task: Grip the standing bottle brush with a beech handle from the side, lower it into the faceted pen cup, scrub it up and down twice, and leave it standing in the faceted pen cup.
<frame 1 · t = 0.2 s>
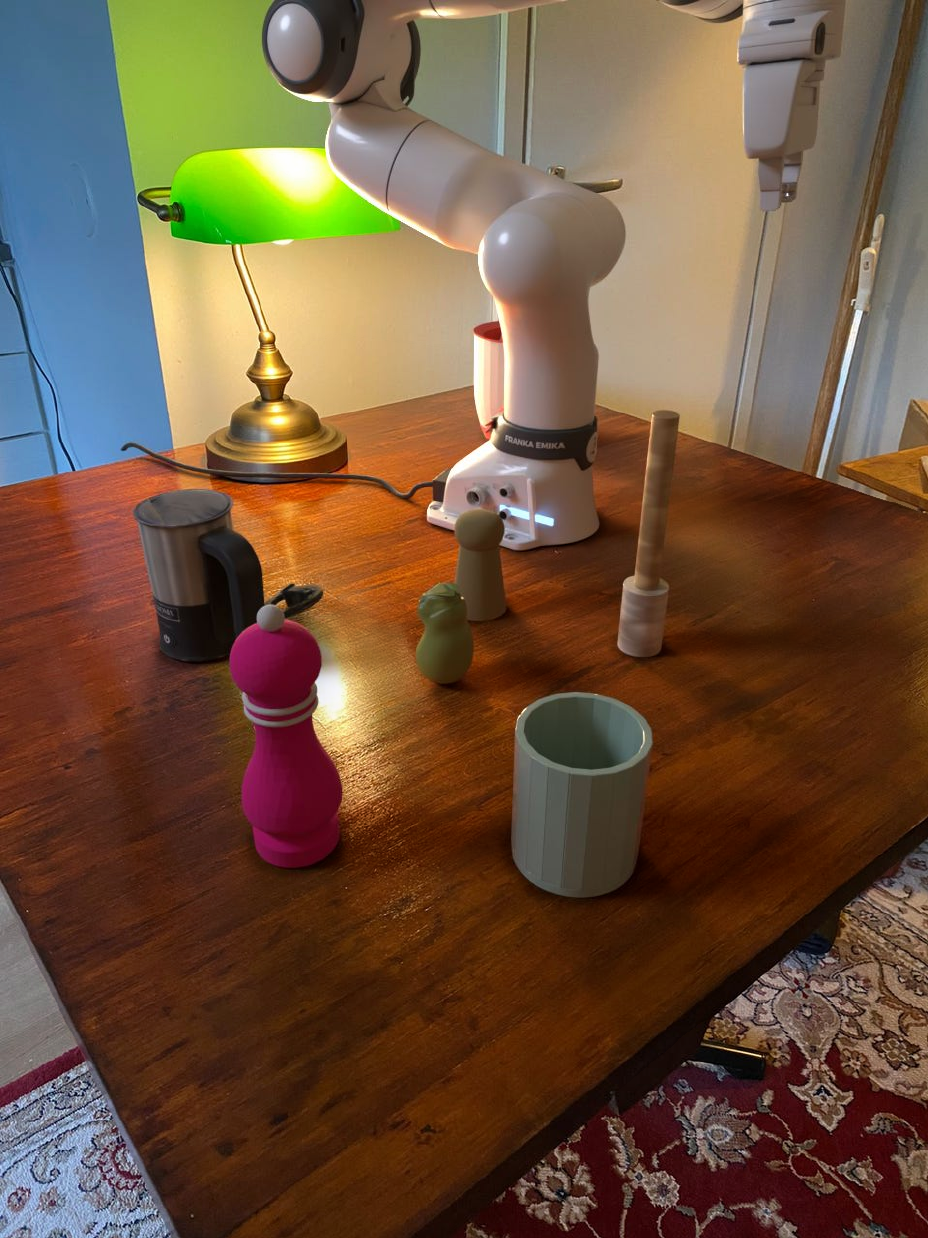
hand: (778, 205, 90), 39 cm above the table, tool pointing down, fingers open, 8 cm apart
faceted pen cup: (573, 850, 67), on the table
pepper mill: (298, 840, 68), on the table
brown peg figure: (478, 608, 99), on the table
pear: (444, 680, 87), on the table
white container: (523, 436, 148), on the table
bottle brush: (639, 645, 92), on the table
milk frother: (244, 630, 95), on the table
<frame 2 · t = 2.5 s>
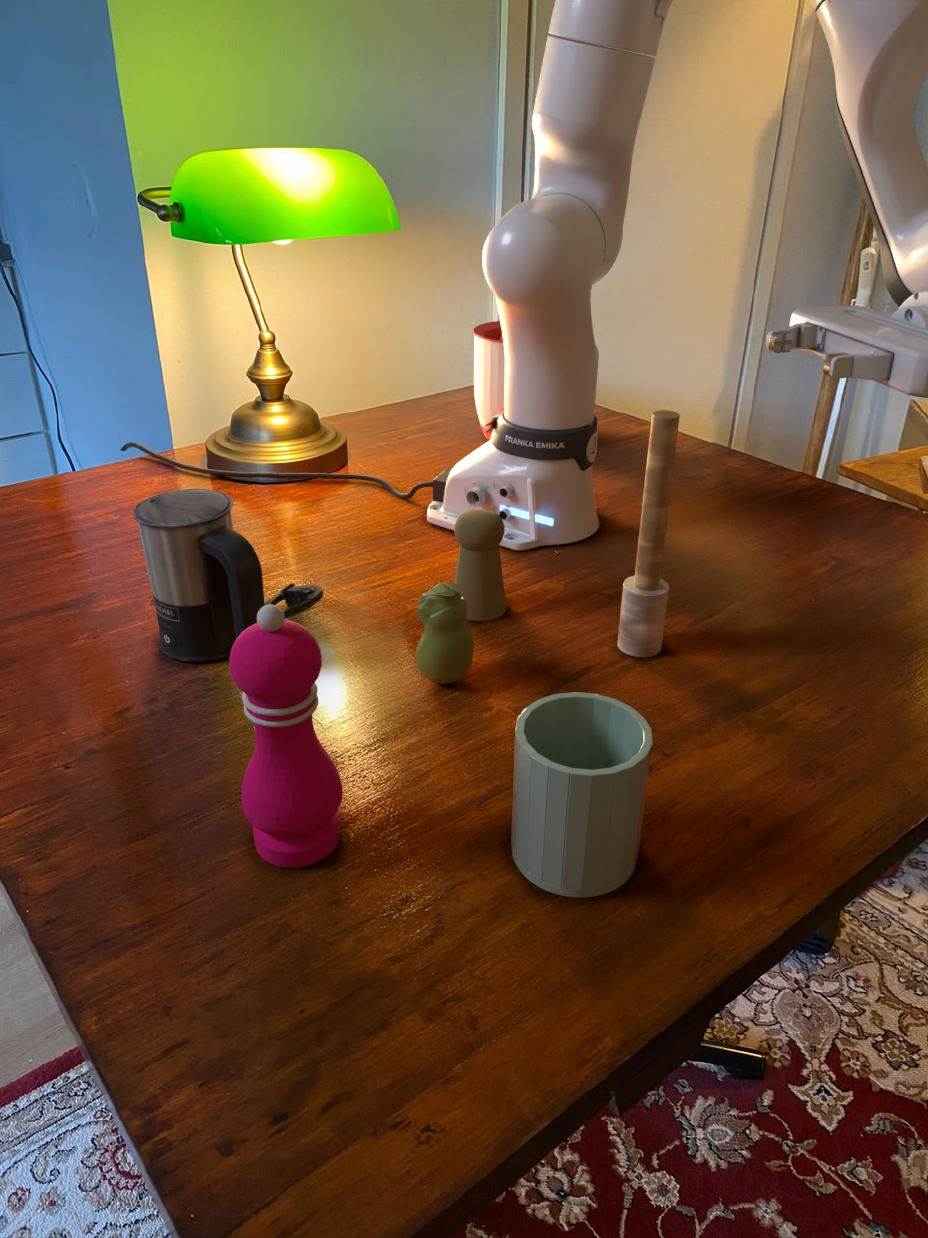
hand: (797, 353, 80), 29 cm above the table, tool horizontal, fingers open, 8 cm apart
nothing on the table moved.
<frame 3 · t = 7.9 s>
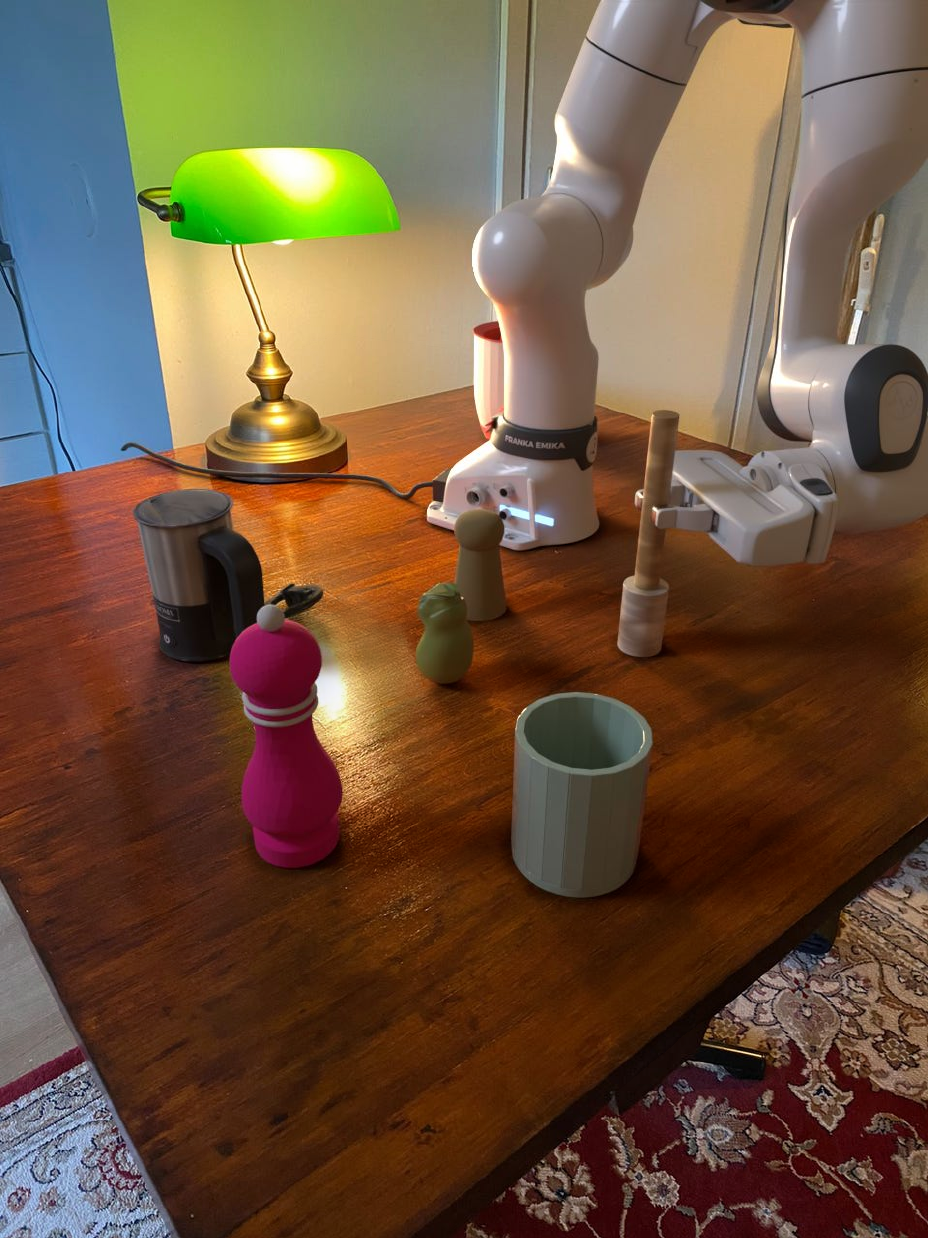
hand: (646, 509, 84), 15 cm above the table, tool horizontal, fingers closed on bottle brush, 2 cm apart
bottle brush: (639, 645, 92), on the table, touching gripper
everything else where it was.
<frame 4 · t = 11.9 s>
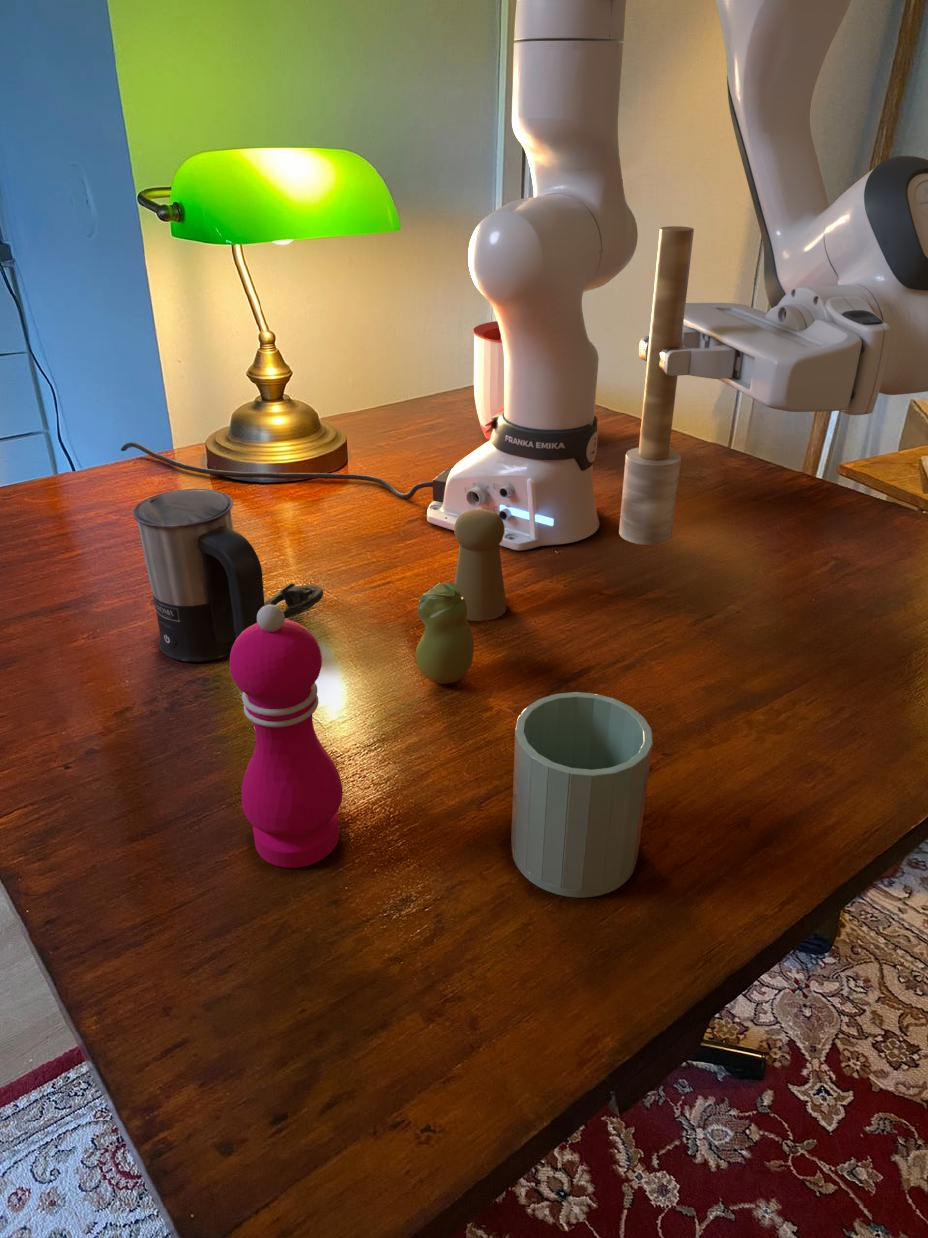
hand: (652, 355, 69), 31 cm above the table, tool horizontal, fingers closed on bottle brush, 2 cm apart
bottle brush: (645, 534, 77), point 16 cm above the table, touching gripper
everything else where it was.
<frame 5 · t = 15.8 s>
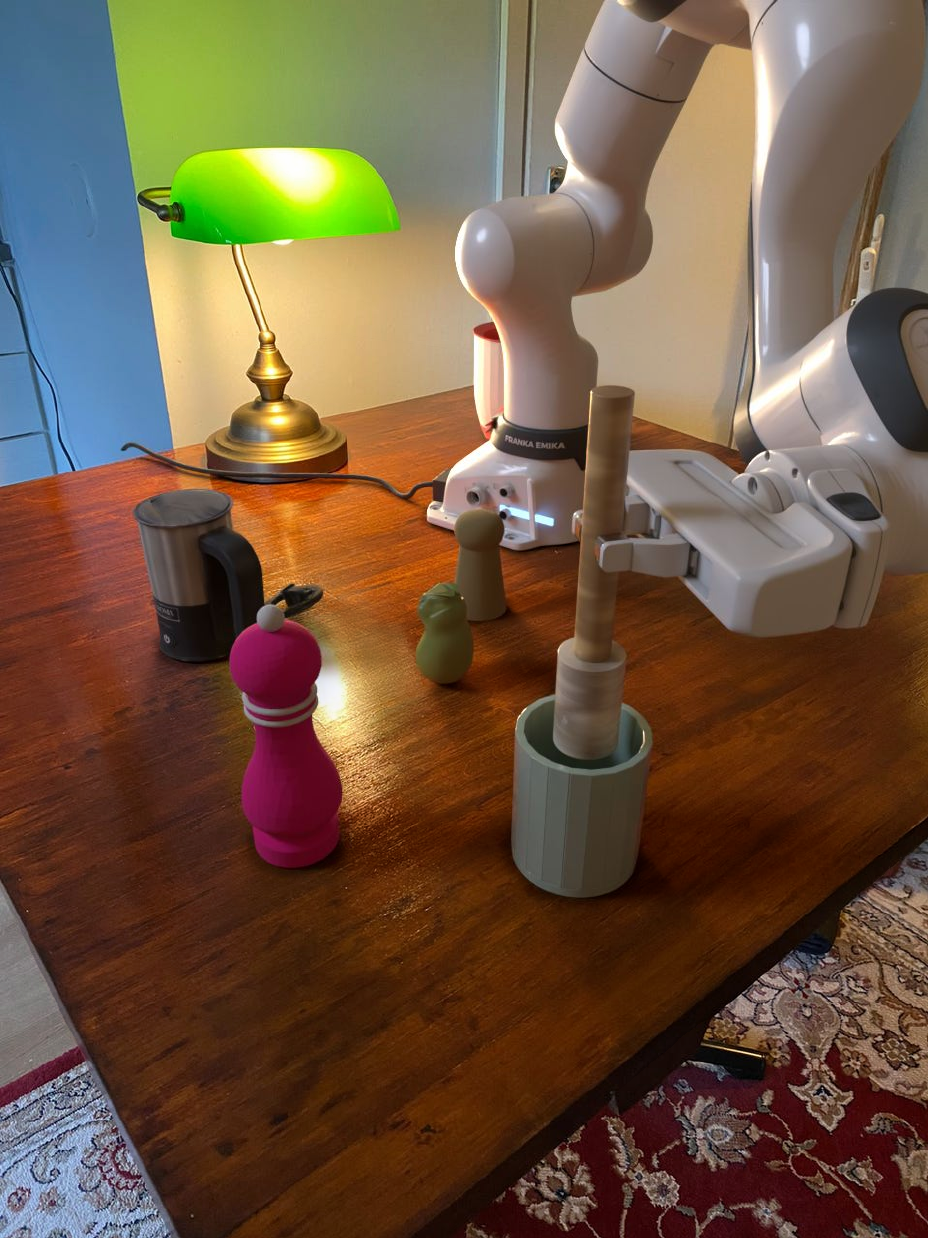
hand: (586, 541, 54), 25 cm above the table, tool horizontal, fingers closed on bottle brush, 2 cm apart
bottle brush: (585, 739, 62), point 10 cm above the table, touching gripper
everything else where it was.
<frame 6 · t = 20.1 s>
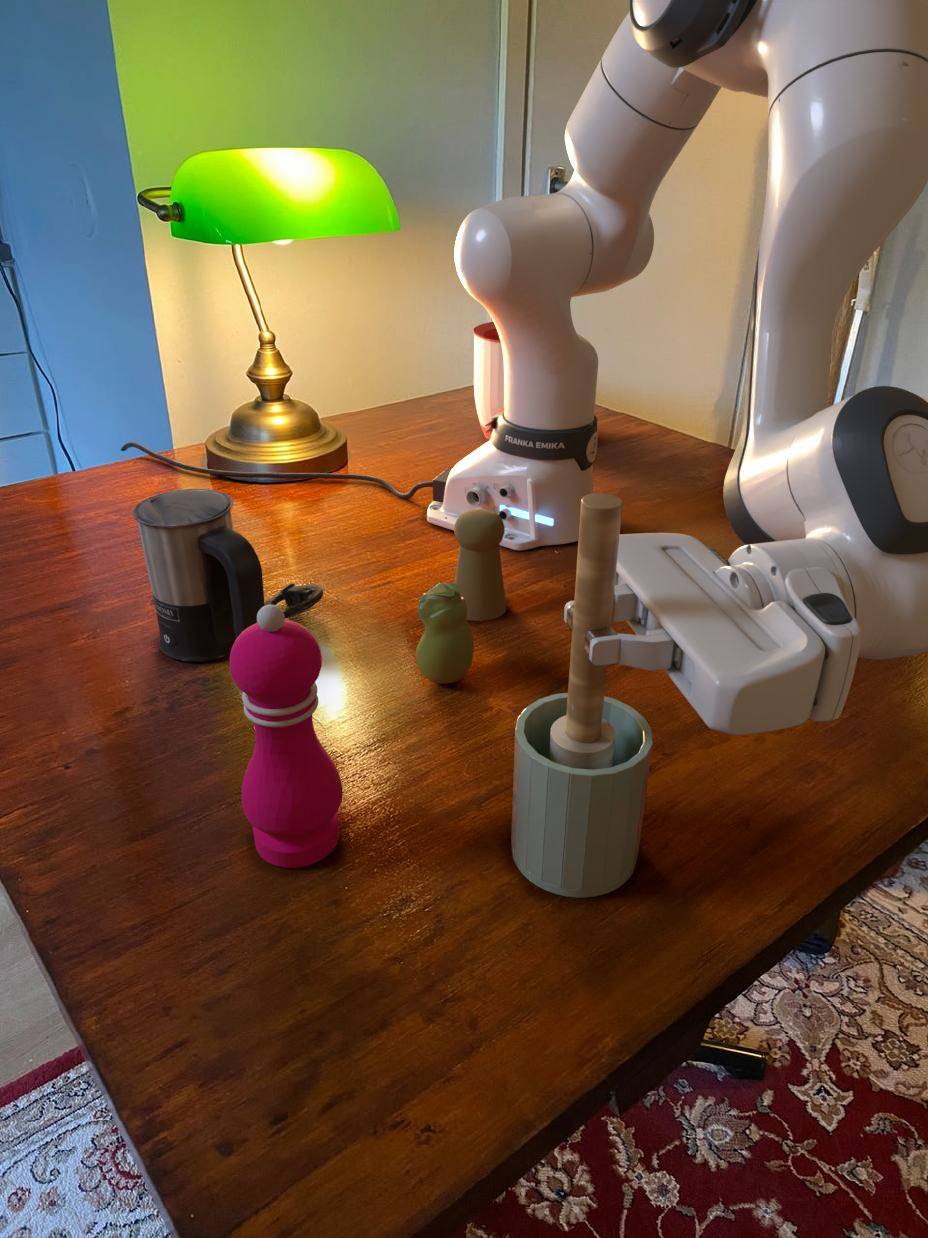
hand: (577, 633, 58), 19 cm above the table, tool horizontal, fingers closed on bottle brush, 2 cm apart
bottle brush: (576, 810, 65), point 4 cm above the table, touching gripper
everything else where it was.
when the fingers open (16 cm above the table, at t = 23.7 s): bottle brush stays where it is, resting on faceted pen cup.
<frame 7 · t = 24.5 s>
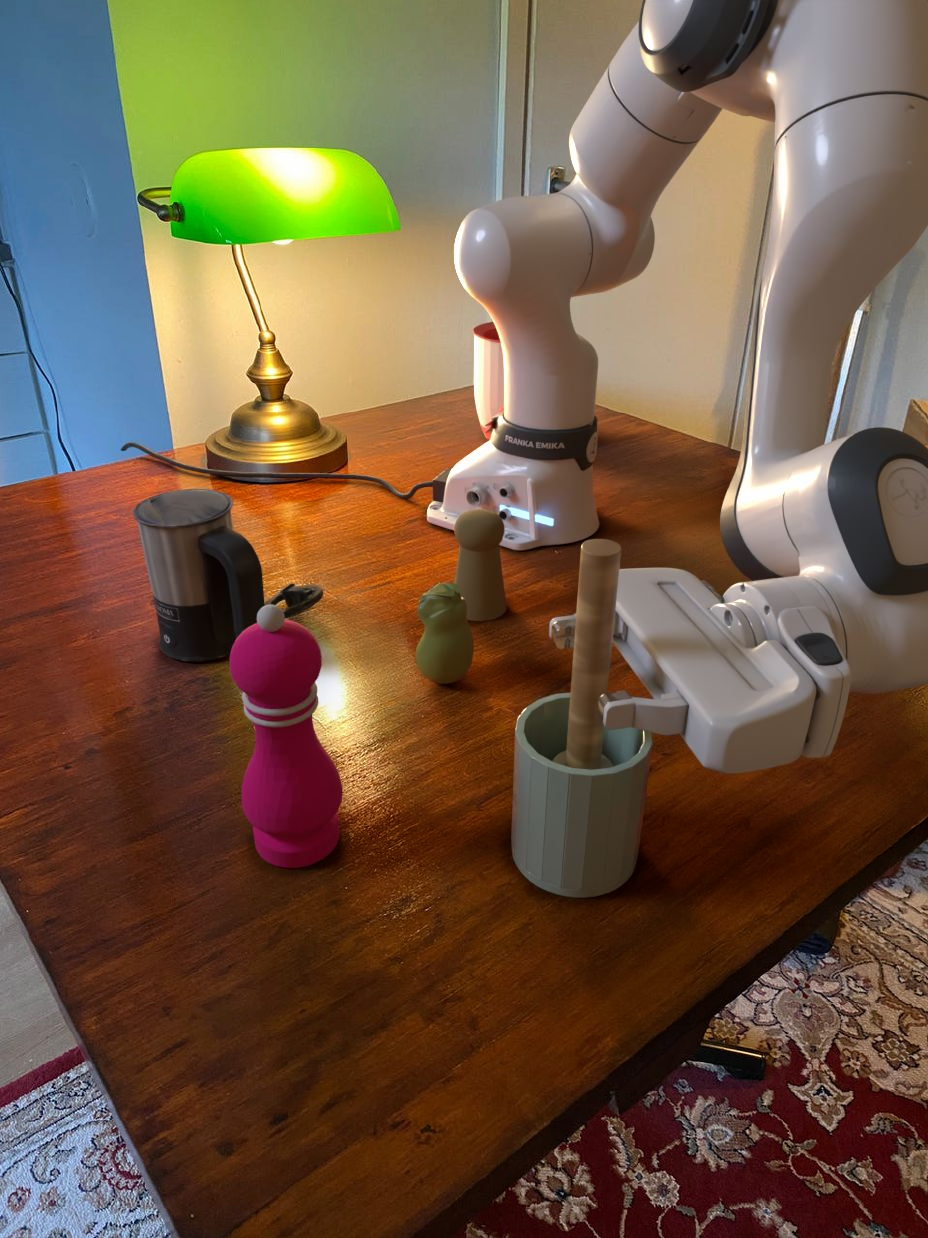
hand: (575, 670, 59), 16 cm above the table, tool horizontal, fingers open, 8 cm apart
bottle brush: (576, 842, 67), point 1 cm above the table, touching faceted pen cup
everything else where it was.
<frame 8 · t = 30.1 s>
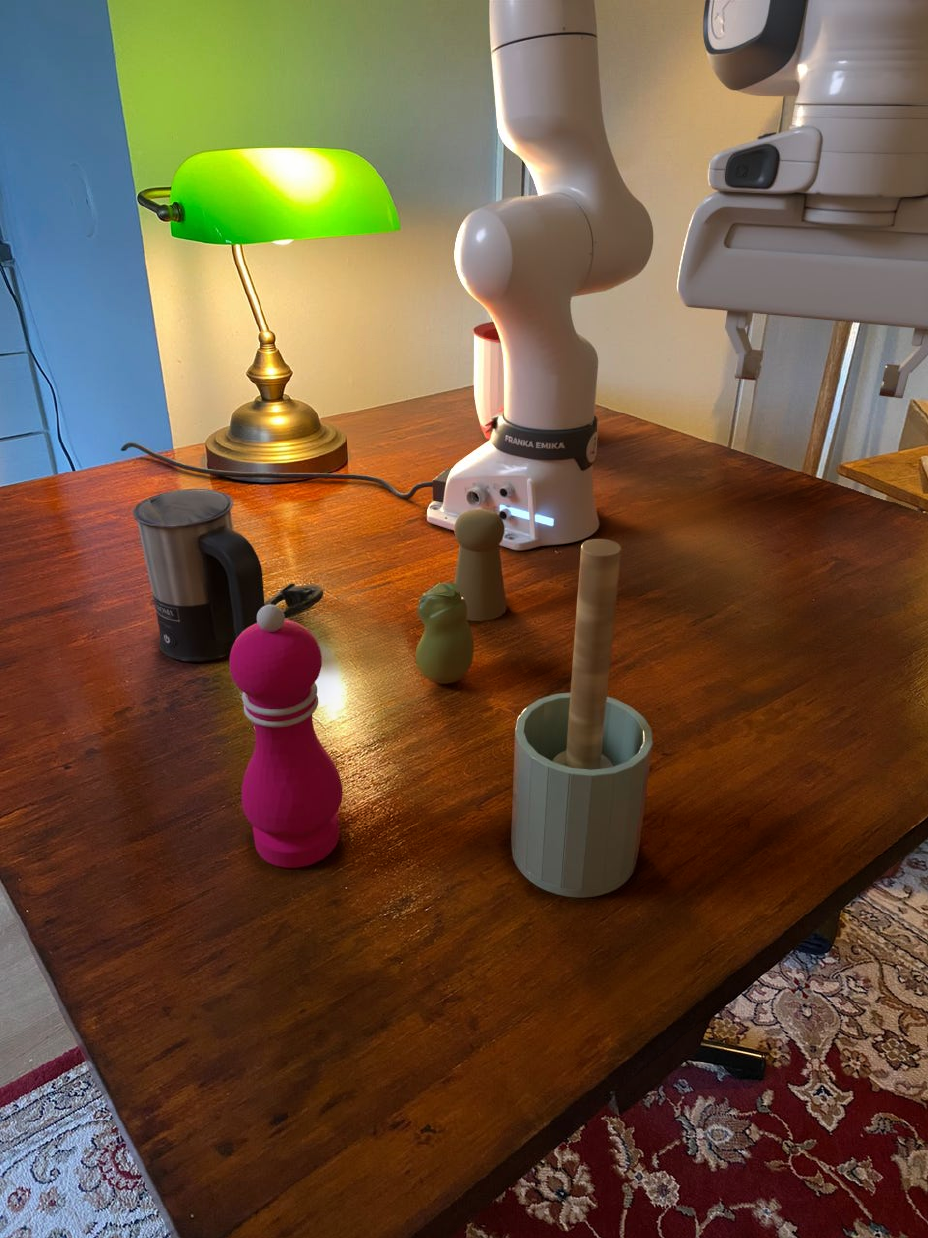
hand: (816, 386, 62), 31 cm above the table, tool pointing down, fingers open, 8 cm apart
nothing on the table moved.
at the end: bottle brush 0.1 cm off-centre in the faceted pen cup, point 0.8 cm above the faceted pen cup's base; the gripper is holding nothing; bottle brush moved 30.3 cm from its start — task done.
